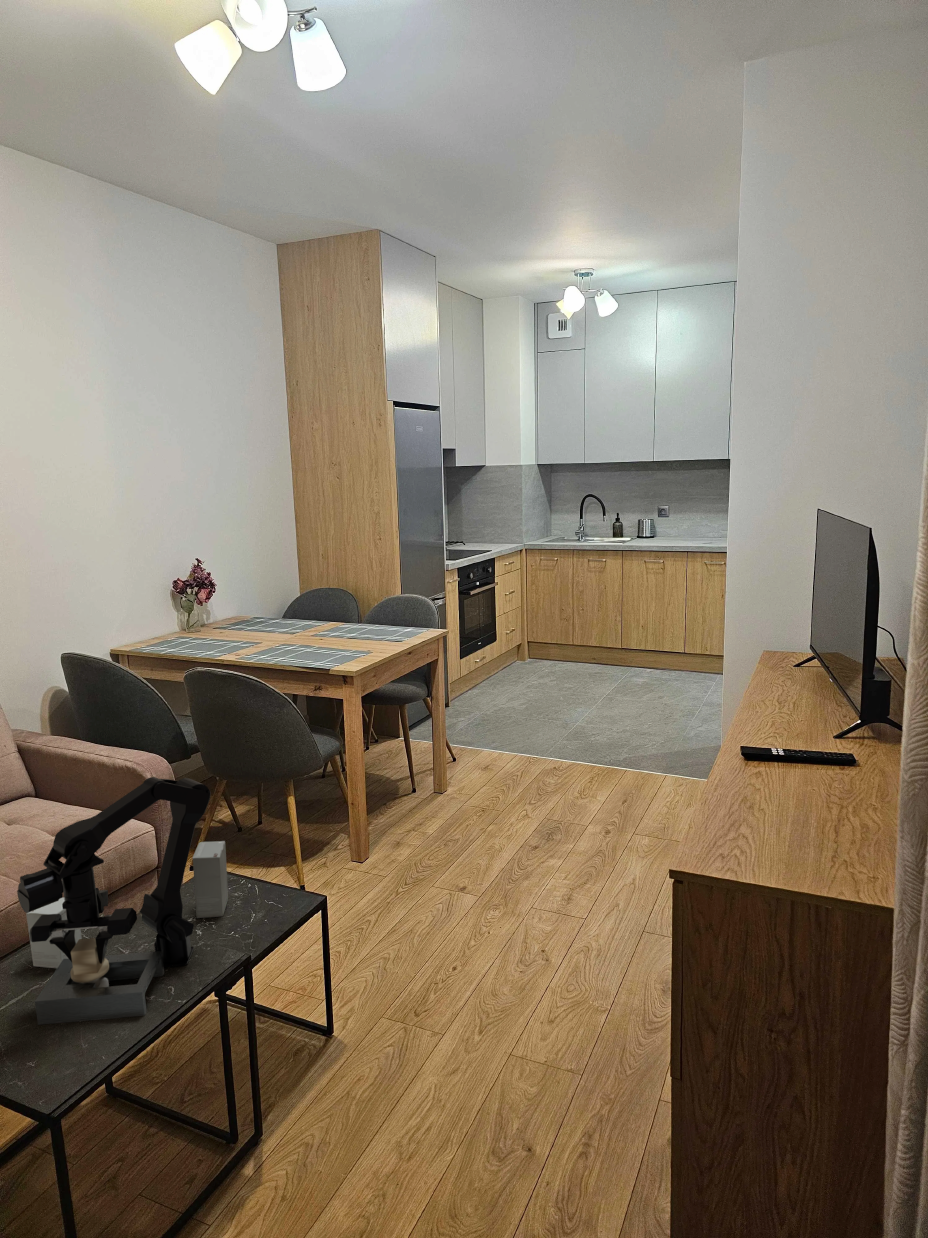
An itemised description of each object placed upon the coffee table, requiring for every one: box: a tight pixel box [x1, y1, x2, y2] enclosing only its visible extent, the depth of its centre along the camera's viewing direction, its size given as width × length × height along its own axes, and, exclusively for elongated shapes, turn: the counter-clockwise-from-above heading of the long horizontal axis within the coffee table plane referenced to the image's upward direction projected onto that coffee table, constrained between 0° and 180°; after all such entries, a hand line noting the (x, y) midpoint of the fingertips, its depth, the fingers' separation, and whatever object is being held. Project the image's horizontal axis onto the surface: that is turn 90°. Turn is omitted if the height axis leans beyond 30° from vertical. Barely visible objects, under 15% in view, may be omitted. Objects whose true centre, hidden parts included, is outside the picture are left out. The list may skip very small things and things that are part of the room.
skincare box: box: [192, 840, 229, 919], centre depth 197 cm, size 8×7×16 cm
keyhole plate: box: [34, 950, 165, 1026], centre depth 166 cm, size 20×14×5 cm
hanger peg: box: [70, 937, 110, 988], centre depth 165 cm, size 7×7×10 cm
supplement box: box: [25, 896, 83, 969], centre depth 180 cm, size 7×7×13 cm
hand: (89, 963), depth 165 cm, fingers closed on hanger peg, 4 cm apart
